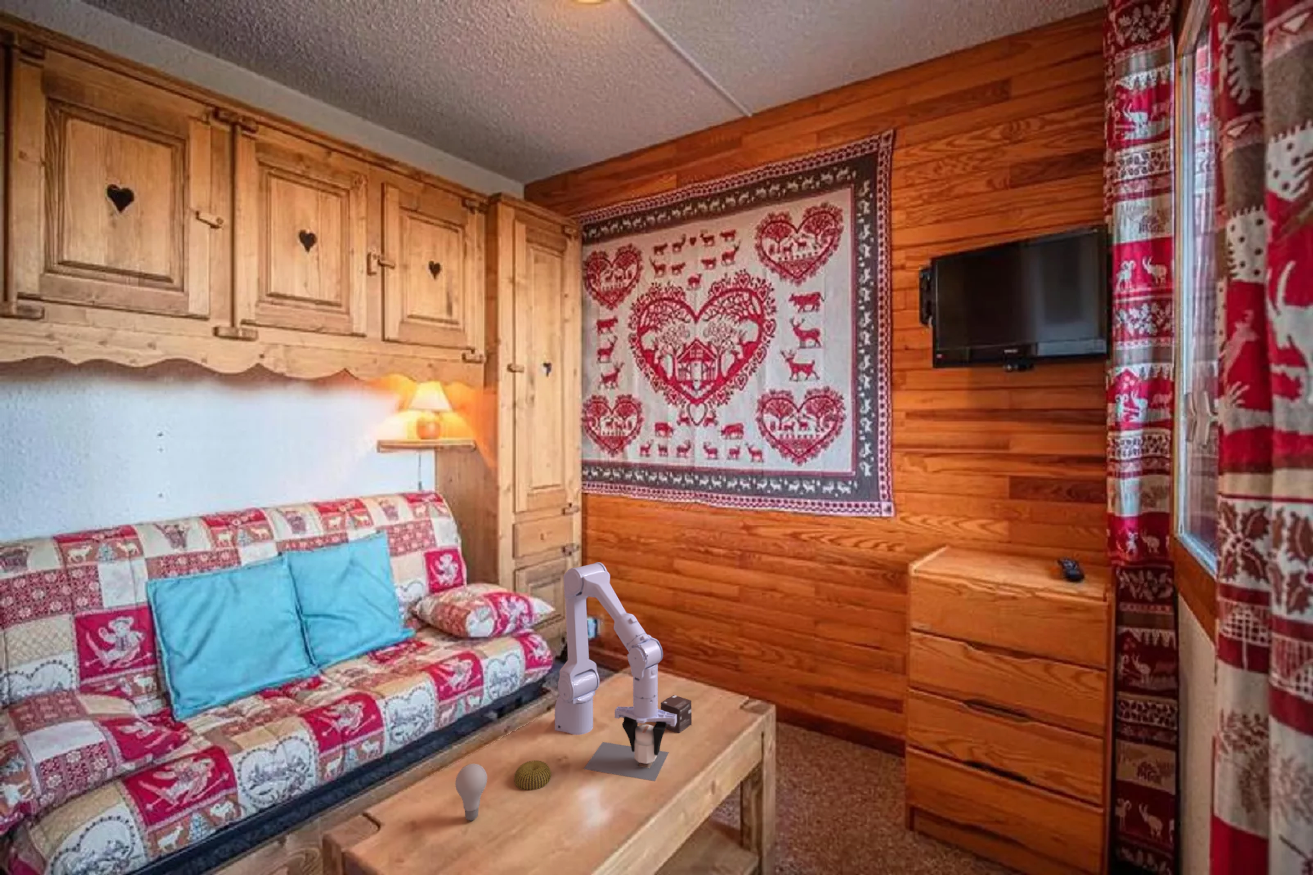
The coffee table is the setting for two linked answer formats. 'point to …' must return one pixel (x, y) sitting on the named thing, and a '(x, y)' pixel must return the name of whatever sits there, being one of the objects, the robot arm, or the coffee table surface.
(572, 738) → the coffee table surface
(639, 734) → the knob
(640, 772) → the board
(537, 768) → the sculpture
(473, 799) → the lightbulb
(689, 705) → the box
